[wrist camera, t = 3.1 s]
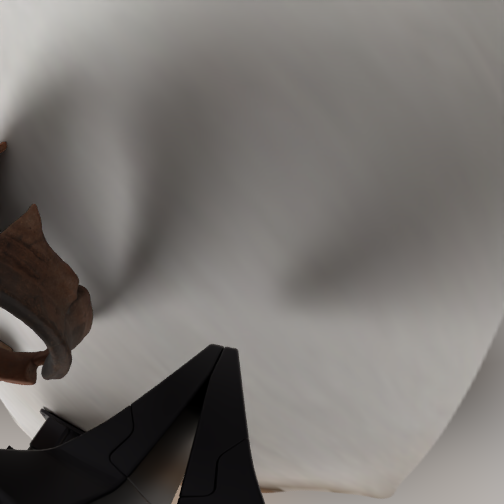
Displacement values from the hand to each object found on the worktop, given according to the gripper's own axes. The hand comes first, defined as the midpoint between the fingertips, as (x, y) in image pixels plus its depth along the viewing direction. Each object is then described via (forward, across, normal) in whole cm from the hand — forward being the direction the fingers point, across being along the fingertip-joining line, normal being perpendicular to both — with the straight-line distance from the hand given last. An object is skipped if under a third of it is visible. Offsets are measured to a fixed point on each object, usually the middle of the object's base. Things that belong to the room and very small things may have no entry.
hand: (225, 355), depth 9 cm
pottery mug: (+2, +11, -1) cm, 11 cm away
